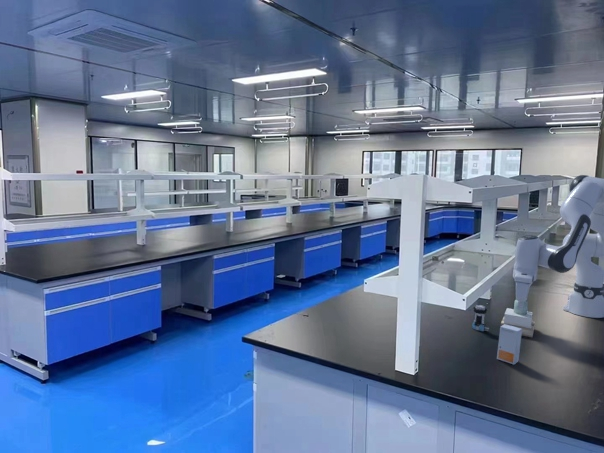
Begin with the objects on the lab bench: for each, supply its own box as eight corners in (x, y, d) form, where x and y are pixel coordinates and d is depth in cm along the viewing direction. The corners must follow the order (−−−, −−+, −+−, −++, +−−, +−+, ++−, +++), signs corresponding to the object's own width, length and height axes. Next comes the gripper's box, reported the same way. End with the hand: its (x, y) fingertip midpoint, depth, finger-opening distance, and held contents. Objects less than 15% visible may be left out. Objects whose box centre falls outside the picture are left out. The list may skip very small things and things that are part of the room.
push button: (490, 330, 184) (492, 307, 183) (486, 333, 180) (488, 309, 179) (474, 326, 188) (476, 303, 187) (469, 329, 184) (471, 306, 183)
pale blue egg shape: (514, 310, 189) (515, 299, 188) (527, 312, 186) (528, 301, 186) (513, 313, 184) (514, 301, 184) (526, 315, 182) (527, 303, 181)
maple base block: (503, 324, 194) (504, 315, 194) (533, 330, 188) (534, 321, 188) (499, 332, 184) (500, 323, 184) (532, 338, 178) (533, 329, 178)
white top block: (506, 316, 192) (506, 308, 192) (531, 321, 187) (532, 312, 187) (503, 323, 184) (504, 313, 183) (530, 328, 179) (531, 318, 178)
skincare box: (496, 359, 154) (499, 326, 153) (501, 356, 157) (504, 323, 156) (514, 365, 150) (518, 331, 149) (519, 361, 153) (522, 328, 152)
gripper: (518, 269, 194) (515, 300, 195) (514, 277, 176) (510, 311, 178) (534, 271, 191) (531, 302, 192) (532, 280, 173) (528, 314, 175)
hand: (521, 306), depth 185 cm, fingers open, 8 cm apart
